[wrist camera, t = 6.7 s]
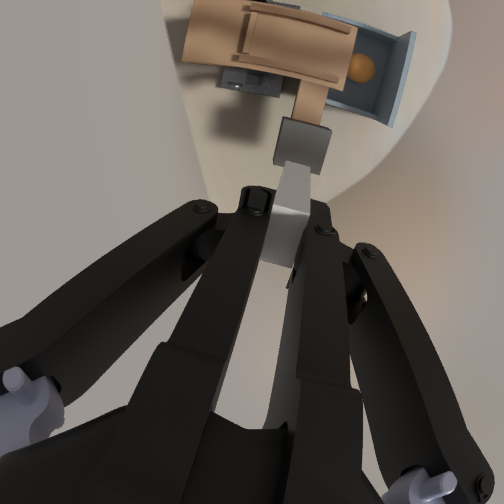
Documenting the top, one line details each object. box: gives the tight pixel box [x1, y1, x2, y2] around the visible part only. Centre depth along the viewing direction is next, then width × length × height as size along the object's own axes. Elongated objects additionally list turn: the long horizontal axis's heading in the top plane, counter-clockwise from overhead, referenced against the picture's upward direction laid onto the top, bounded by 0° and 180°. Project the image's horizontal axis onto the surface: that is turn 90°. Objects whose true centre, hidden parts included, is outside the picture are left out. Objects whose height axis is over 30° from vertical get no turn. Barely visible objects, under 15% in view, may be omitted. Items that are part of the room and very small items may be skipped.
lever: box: [181, 0, 358, 175], centre depth 25 cm, size 18×17×7 cm
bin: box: [322, 12, 417, 128], centre depth 24 cm, size 12×10×9 cm
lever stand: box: [220, 0, 300, 98], centre depth 25 cm, size 14×8×10 cm, turn 169°
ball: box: [347, 53, 376, 83], centre depth 26 cm, size 4×4×4 cm
